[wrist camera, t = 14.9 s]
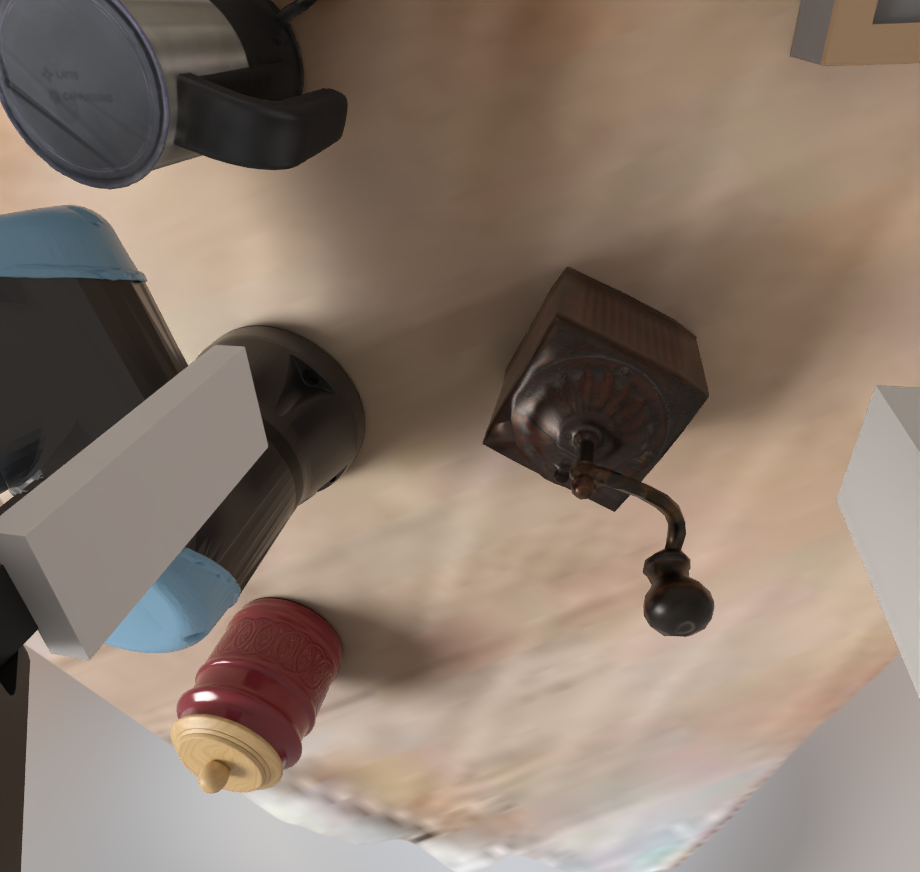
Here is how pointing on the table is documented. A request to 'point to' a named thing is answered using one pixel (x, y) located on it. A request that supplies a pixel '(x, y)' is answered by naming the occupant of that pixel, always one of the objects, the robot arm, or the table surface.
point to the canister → (256, 696)
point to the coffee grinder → (608, 418)
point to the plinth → (857, 32)
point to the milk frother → (160, 86)
